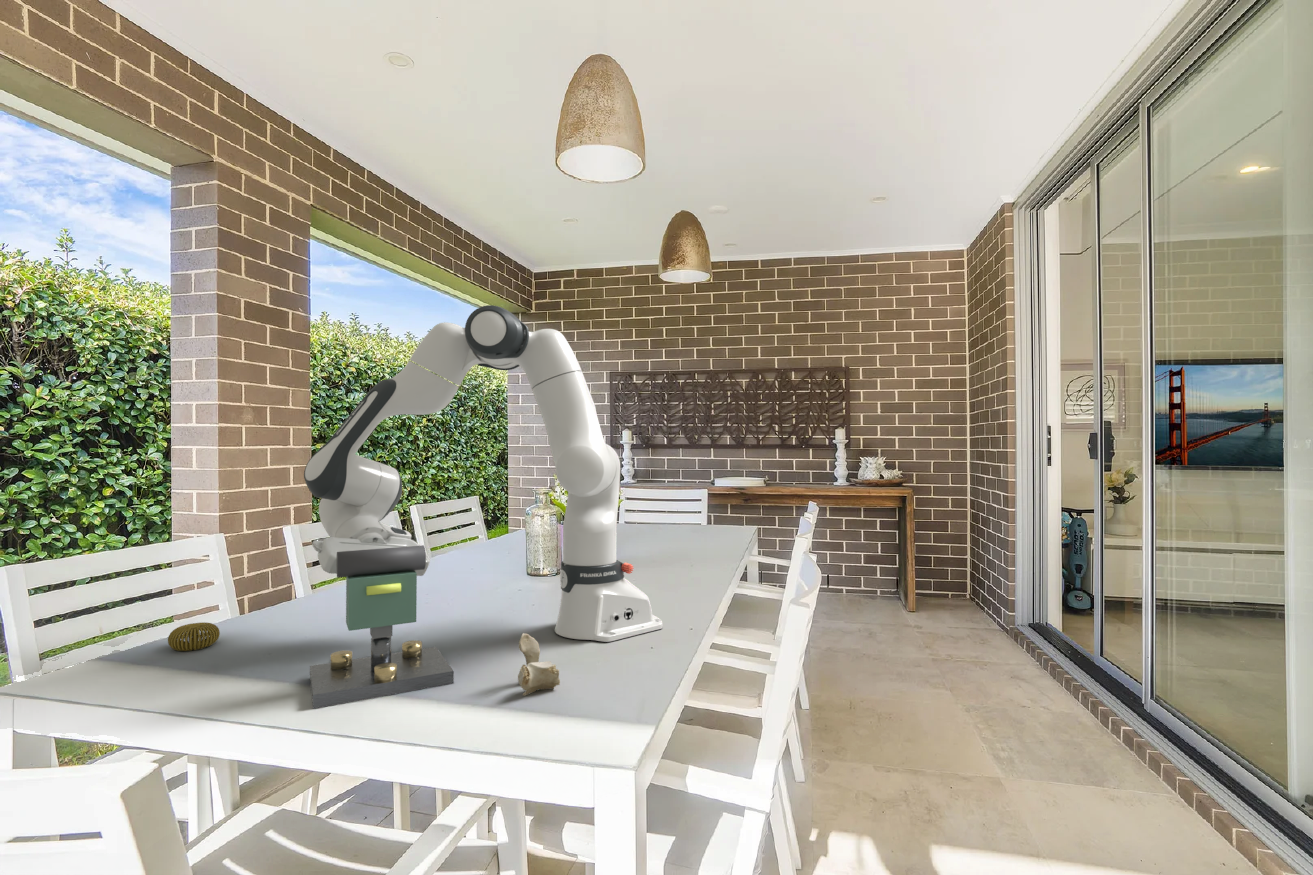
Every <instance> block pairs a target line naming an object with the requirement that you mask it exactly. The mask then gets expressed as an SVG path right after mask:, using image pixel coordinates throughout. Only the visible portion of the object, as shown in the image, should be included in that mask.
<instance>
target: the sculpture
mask: <svg viewBox="0 0 1313 875" xmlns="http://www.w3.org/2000/svg"><path fill="white" fill-rule="evenodd" d="M220 634H221V633H220V628H219V627H218V626H217V625H216V624H214V623H212V622H205V621H204V622H194V623H193V622H192V623H188V624H184V625H180V626H179V627H176V628H175V629H172V631H171V632H170V633H169V634H168V637H167V644H168V646H169V647H170V648H171V649H172V650H175V651H178V652H187V651H188V652H189V651H197V650H202V649H206V648H208V647H210V646H212V645H214V644H215V643H216V642H217V641H218V640H219V637H220ZM205 647H206V648H205Z"/></svg>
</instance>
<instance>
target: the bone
mask: <svg viewBox="0 0 1313 875" xmlns="http://www.w3.org/2000/svg"><path fill="white" fill-rule="evenodd" d="M517 644H518V649H519V652H521V653H522V654H523V655H524V657H525V663H526V664H522V666H521V667H520V669H519V672H518V674H517V681H518V684H519V686H520V688H521V689H522V690H523V691H524V692H523V693H522V696H528V695H530V694H532V693H534V692H536V690H537V691H539V690H538V689H541V690H549V689H550V688H552V689H553V690H554V689H555V688H556V687H557V686H560V683H561V679H560V669H557V665H556V664H555V663H554V664H553V663H552V661H551V660H547V661H540V654H541V650H540V644H539V642H538V641H537V640H536V639H535V638H534V637H532V636H531V635H530V634H528V633H525V632H523V633H521V636H520V638H519V641H518V643H517ZM550 690H551V689H550ZM529 693H530V694H529ZM527 694H528V695H527Z"/></svg>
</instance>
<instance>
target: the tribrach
mask: <svg viewBox="0 0 1313 875" xmlns="http://www.w3.org/2000/svg"><path fill="white" fill-rule="evenodd" d="M454 672H455V670H454V669H453V668H452V667H451V665H450V664H449V662H448V660H446V658H445V657H444V655H443V654H442V652H440V650H439V648H438V647H437V646H433V647H426V648H425V647H424V648H423V642H422V641H421V640H417V639H415V640H414V639H413V640H408V641H407V640H406V641H404V642H402V645H401V652H400V651H399V652H392V636H387V637H379V638H372V637H371V638H370V656H366V657H359V658H353V651H352V650H338V651H335V652H332V653H331V654H330V662H327V663H320V664H313V665H309V682H310V683H309V684H310V693H311V703H312V709H319V708H324V707H330V706H336V705H340V704H341V705H342V704H348V703H352V702H357V701H364V700H370V699H375V698H379V697H386V696H391V695H390V694H392V695H396V694H395V693H397V694H401V693H408V692H413V691H419V690H424V689H428V688H429V689H430V688H436V687H441V686H447V685H452V684H455V683H454V682H455V681H454V680H455V679H454V678H455V676H454V674H455V673H454Z"/></svg>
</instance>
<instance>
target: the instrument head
mask: <svg viewBox="0 0 1313 875" xmlns="http://www.w3.org/2000/svg"><path fill="white" fill-rule="evenodd" d="M426 553H427V552H426V548H425V546H424V544H423V545H420V546H409V547H395V548H382V549H369V550H355V551H342V552H337V557H336V570H337V574H336V579H337V578H345V579H346V580H345V582H346V583H345V584H346V586H345V587H346V588H345V590H346V592H345V593H346V594H345V603H346V604H345V607H346V608H345V623H346V627H347V630H348V631H349V632H350V631H359V630H365V629H369V633H370V636H371V638H379V637H387V636H391V637H392V636H393V626H396V625H404V624H412V623H417V595H418V594H417V588H418V587H417V584H418V583H417V580H418V578H417V577H418V576H417V573H416V572H415V571H414V570H424V569H425V565H426Z"/></svg>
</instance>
